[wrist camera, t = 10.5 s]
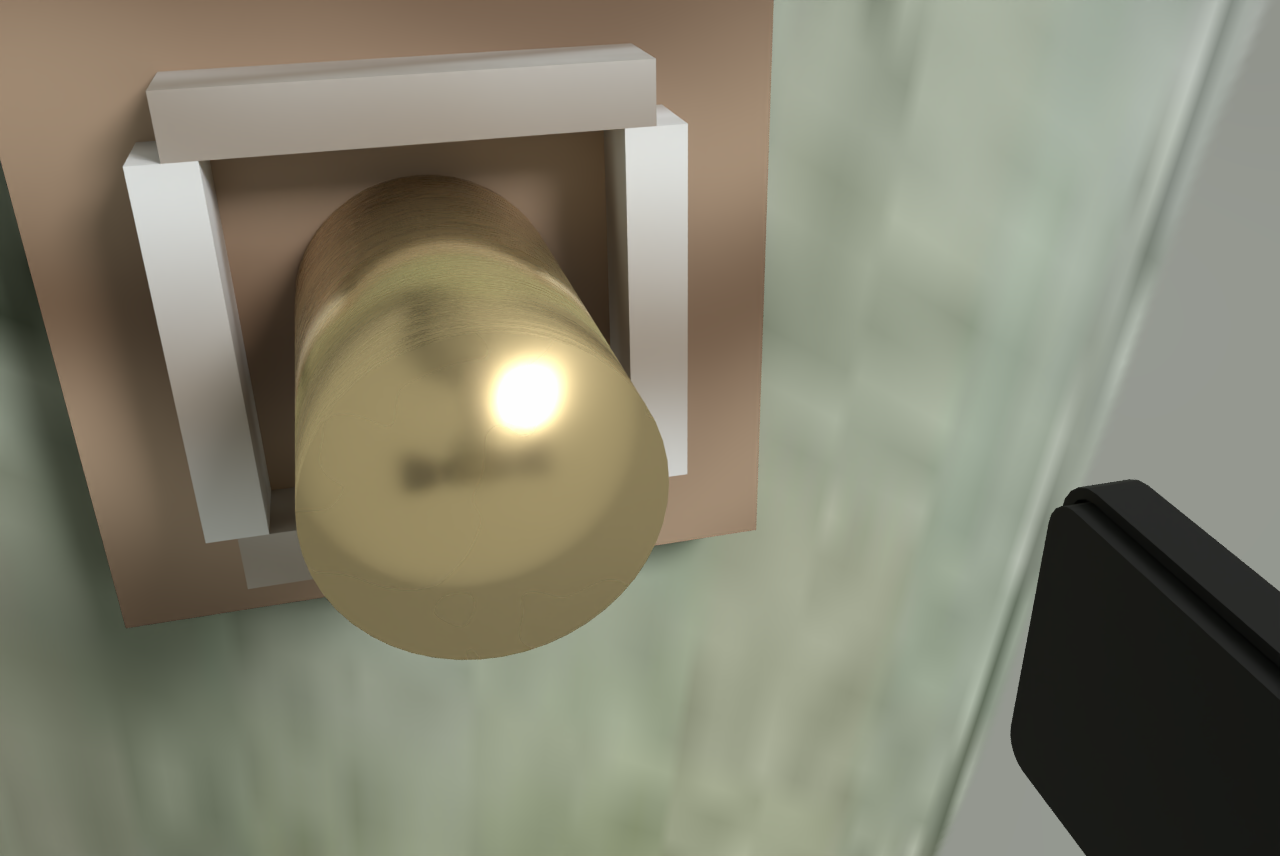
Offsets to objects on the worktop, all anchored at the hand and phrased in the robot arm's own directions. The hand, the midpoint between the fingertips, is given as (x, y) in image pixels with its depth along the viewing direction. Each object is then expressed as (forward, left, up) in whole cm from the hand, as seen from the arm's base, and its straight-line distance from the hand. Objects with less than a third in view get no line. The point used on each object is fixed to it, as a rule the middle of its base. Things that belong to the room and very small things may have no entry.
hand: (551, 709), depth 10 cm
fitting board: (+1, 0, -13) cm, 13 cm away
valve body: (0, 0, -11) cm, 11 cm away
